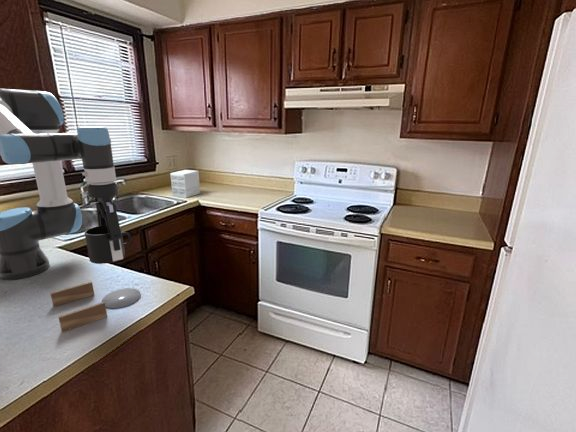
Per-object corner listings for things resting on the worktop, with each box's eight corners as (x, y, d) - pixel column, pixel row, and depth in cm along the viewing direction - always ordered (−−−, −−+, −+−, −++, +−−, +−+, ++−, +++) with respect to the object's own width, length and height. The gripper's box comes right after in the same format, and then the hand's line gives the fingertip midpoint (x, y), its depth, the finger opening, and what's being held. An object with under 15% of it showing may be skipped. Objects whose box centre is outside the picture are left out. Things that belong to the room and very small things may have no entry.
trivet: (98, 297, 102) (98, 296, 102) (134, 286, 109) (134, 284, 109) (107, 312, 94) (107, 310, 94) (145, 299, 101) (145, 297, 101)
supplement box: (186, 192, 252) (184, 169, 246) (200, 193, 247) (199, 170, 242) (171, 196, 236) (169, 172, 231) (186, 198, 232) (184, 173, 226)
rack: (53, 305, 97) (50, 292, 96) (93, 293, 104) (91, 281, 103) (62, 332, 85) (58, 318, 84) (107, 316, 92) (104, 302, 91)
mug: (138, 255, 97) (134, 228, 95) (94, 267, 89) (88, 237, 87) (128, 247, 104) (124, 221, 101) (86, 257, 96) (81, 229, 93)
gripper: (78, 178, 96) (91, 246, 102) (95, 190, 80) (109, 270, 86) (106, 175, 100) (116, 241, 107) (127, 186, 85) (137, 262, 91)
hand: (113, 254), depth 97 cm, fingers closed on mug, 9 cm apart
